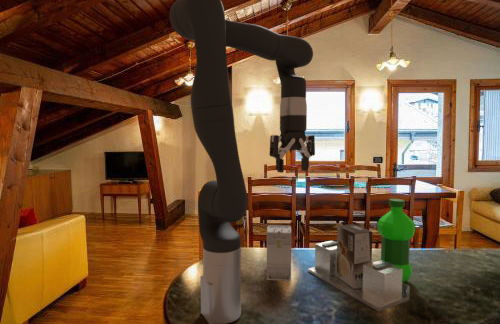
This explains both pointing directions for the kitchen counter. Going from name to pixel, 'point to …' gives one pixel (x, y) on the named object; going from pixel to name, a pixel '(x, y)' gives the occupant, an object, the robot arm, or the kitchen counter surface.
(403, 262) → the plastic bottle
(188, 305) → the kitchen counter surface
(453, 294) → the kitchen counter surface
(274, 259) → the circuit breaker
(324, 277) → the plate
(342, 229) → the coffee box
